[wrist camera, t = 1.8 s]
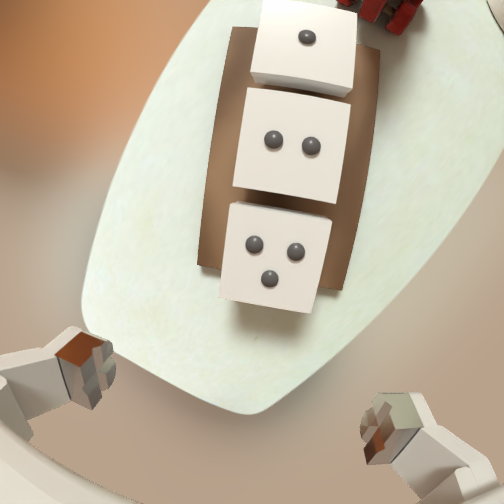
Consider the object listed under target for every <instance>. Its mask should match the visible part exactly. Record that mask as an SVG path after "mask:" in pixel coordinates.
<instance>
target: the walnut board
mask: <svg viewBox="0 0 504 504" xmlns="http://www.w3.org/2000/svg"><path fill="white" fill-rule="evenodd" d="M257 32H258V28H254V27H232V32H231V36H230V41H229V46H228V50H227V55H226V60H225V65H224V71H223V76H222V81H221V87H220V92H219V98H218V104H217V110H216V116H215V122H214V128H213V135H212V141H211V148H210V155H209V162H208V169H207V177H206V185H205V193H204V201H203V210H202V219H201V228H200V238H199V249H198V260H197V265H200V266H206V267H211V268H216V269H221V270H222V263H223V255H224V247H225V238H226V231H227V223H228V215H229V207H230V204H231V203H235V202H237V201H242V202H248V203H255V204H261V205H267V206H273V207H279V208H285V209H290V210H296V211H302V212H307V213H312V214H318V215H323V216H326V217H327V218H328V219H330V220H331V221H332V226H331V231H330V236H329V240H328V245H327V249H326V254H325V258H324V263H323V267H322V271H321V276H320V280H319V284H318V287H324V288H330V289H336V290H342V288H343V284H344V280H345V277H346V273H347V269H348V265H349V261H350V257H351V253H352V249H353V244H354V240H355V236H356V231H357V227H358V222H359V217H360V212H361V207H362V202H363V197H364V191H365V186H366V180H367V174H368V168H369V162H370V155H371V148H372V140H373V133H374V124H375V115H376V105H377V93H378V80H379V61H380V50H377V49H373V48H370V47H367V46H363V45H359V44H356V51H355V65H354V77H353V88H352V90H351V91H350V92H348V93H347V95H346V96H345V97H344V98H342V97H337V96H333V95H328V94H323V93H318V92H313V91H308V90H302V89H296V88H289V87H282V86H275V85H266V84H257V83H255V80H254V78H253V76H252V75H251V72H250V70H251V65H252V59H253V53H254V48H255V42H256V37H257ZM248 87H249V88H259V89H268V90H276V91H283V92H290V93H296V94H302V95H308V96H313V97H319V98H324V99H328V100H333V101H338V102H342V103H346V104H350V105H351V107H350V115H349V123H348V131H347V138H346V146H345V152H344V159H343V165H342V171H341V177H340V183H339V189H338V195H337V200H336V204H334V203H329V202H324V201H318V200H313V199H308V198H302V197H297V196H291V195H285V194H280V193H274V192H268V191H261V190H255V189H248V188H242V187H235V186H232V185H233V178H234V171H235V164H236V158H237V151H238V144H239V138H240V131H241V125H242V118H243V112H244V106H245V100H246V94H247V88H248Z"/></svg>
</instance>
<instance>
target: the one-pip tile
mask: <svg viewBox="0 0 504 504" xmlns="http://www.w3.org/2000/svg"><path fill="white" fill-rule="evenodd" d="M356 34H357V13H354V12H350V11H346V10H342V9H337V8H332V7H327V6H322V5H316V4H310V3H304V2H296V1H288V0H264V1H263V6H262V11H261V16H260V21H259V26H258V32H257V37H256V42H255V48H254V53H253V59H252V65H251V70H250V72H251V75H252V76H253V78H254V80H255V83H257V84H266V85H275V86H282V87H289V88H296V89H302V90H308V91H313V92H318V93H323V94H328V95H333V96H337V97H342V98H344V97H345V96H346V95H347V93H348V92H350V91H351V90H352V88H353V77H354V65H355V51H356Z"/></svg>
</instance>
